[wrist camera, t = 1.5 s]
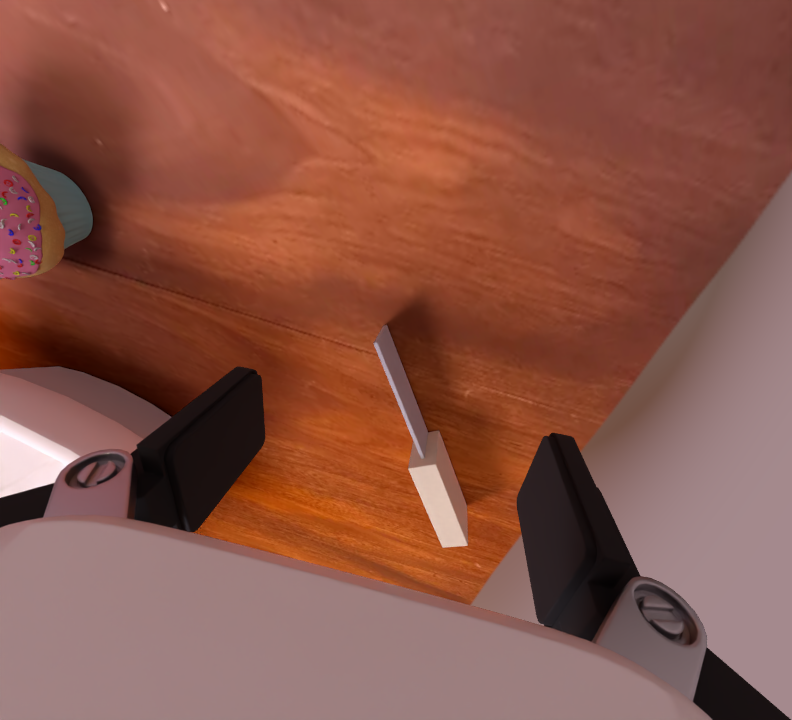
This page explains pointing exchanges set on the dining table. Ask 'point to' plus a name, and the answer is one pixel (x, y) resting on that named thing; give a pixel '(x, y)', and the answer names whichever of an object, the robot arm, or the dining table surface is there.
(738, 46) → the dining table surface
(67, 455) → the bowl
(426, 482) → the knife
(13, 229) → the cupcake
